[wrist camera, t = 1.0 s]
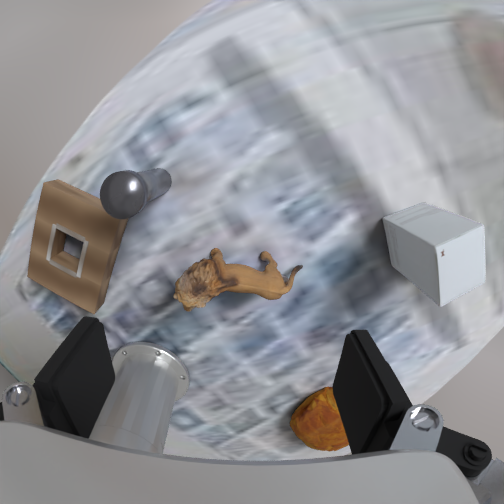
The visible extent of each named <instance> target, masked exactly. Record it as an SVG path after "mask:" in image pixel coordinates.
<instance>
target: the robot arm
mask: <svg viewBox="0 0 504 504" xmlns="http://www.w3.org/2000/svg"><path fill="white" fill-rule="evenodd" d="M34 380H35V383H34V384H33V386H32V385H31V384H29V383H27V382H17V383H14V384H11V385H10V386H8V387H7V389H5V391H4V393H3V395H2V402H1V403H0V504H504V463H503V462H502V461H501V460H499V459H498V458H496V459H495V460H493V459H492V454H491V450H490V448H489V447H488V446H487V445H486V444H485V443H484V442H482V441H480V440H478V439H475V438H472V437H469V436H467V435H464V434H461V433H458V432H456V431H453V430H451V429H448V428H446V427H443V417H442V415H441V414H440V412H439V411H438V410H437V409H435V408H433V407H431V406H429V405H425V404H418V405H414V406H413V405H412V403H411V402H410V400H409V398H408V396H407V394H406V393H405V391H404V389H403V387H402V386H401V384H400V382H399V381H398V379H397V377H396V375H395V374H394V372H393V370H392V368H391V367H390V365H389V364H388V362H386V361H385V359H384V357H383V356H382V354H381V352H380V351H379V349H378V347H377V346H376V344H375V342H374V341H373V339H372V337H371V336H370V334H369V332H368V331H367V330H352V331H351V333H350V334H347V335H346V338H345V342H344V346H343V350H342V354H341V358H340V361H339V365H338V369H337V372H336V376H335V379H334V383H333V395H334V398H335V401H336V404H337V407H338V410H339V414H340V417H341V420H342V423H343V426H344V429H345V433H346V436H347V439H348V442H349V446H350V449H351V452H352V455H345V456H336V457H326V458H315V459H301V460H281V461H237V460H216V459H202V458H191V457H182V456H174V455H166V454H163V450H164V446H165V441H166V437H167V432H168V428H169V423H170V419H171V415H172V410H173V406H174V402H175V401H177V400H179V399H181V398H182V397H183V396H184V395H185V394H186V392H187V390H188V387H189V374H188V370H187V368H186V367H185V365H184V363H183V362H182V361H181V360H180V359H179V358H178V357H177V356H176V355H175V354H174V353H172V352H171V351H169V350H168V349H166V348H164V347H162V346H159V345H156V344H153V343H148V342H132V343H128V344H126V345H124V346H122V347H121V348H120V349H119V350H118V351H117V352H116V354H115V356H114V358H113V361H111V357H110V353H109V349H108V344H107V340H106V336H105V331H104V327H103V324H102V323H101V322H99V320H98V319H97V318H92V317H83V318H82V319H81V320H80V322H79V323H78V324H77V325H76V326H75V328H74V329H73V330H72V331H71V333H70V334H69V335H68V336H67V337H66V339H65V340H64V341H63V342H62V344H61V345H60V346H59V348H58V349H57V350H56V351H55V353H54V354H53V355H52V357H51V358H50V359H49V360H48V362H47V363H46V364H45V366H44V367H43V368H42V370H41V371H40V372H39V374H38V375H37V376H36V378H35V379H34Z"/></svg>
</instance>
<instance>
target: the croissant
mask: <svg viewBox="0 0 504 504" xmlns="http://www.w3.org/2000/svg"><path fill="white" fill-rule="evenodd" d="M290 426H291V428H292V430H293V431H294V432H295V434H296V436H297V437H298V438H299V439H301V440H302V441H303V442H304V443H305V444H306V445H307V446H308V447H310V448H312V449H317V450H322V451H325V450H327V451H333V450H334V451H336V450H339V449H341V448H343V447H346V446H348V445H349V442H348V439H347V436H346V433H345V429H344V426H343V423H342V420H341V417H340V414H339V410H338V407H337V404H336V401H335V398H334V395H333V387H325V388H324V389H322V390H320V391H317V392H315V393H314V394H312V395H311V396H309V397H308V398H307V399H306V400H305V401H304V402H303V403H302V404H301V405H300V406H299V407H298V408H297V409H296V410H295V412H294V413H293V415H292V417H291V421H290Z"/></svg>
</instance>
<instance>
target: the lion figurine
mask: <svg viewBox="0 0 504 504" xmlns="http://www.w3.org/2000/svg"><path fill="white" fill-rule="evenodd" d="M211 256H212V259H202V260H201V261H200V262H196V263H194V264H193V265H192V266H191V267H189V268H188V270H186V271H185V272H184V273H183V275H182V276H181V277H180V278H179V279H178V280H177V282H176V283H175V285H176V288H175V294H174V298H175V299H178V300H179V302H182V303H183V307H184V309H185V310H186V311H191V310H192V309H193V308H194V307H197V308H200V307H205V306H206V303H207V302H209V301H210V300H211V299H212V298H213V297H215V296H218V295H219V294H220V293H222V292H224V291H231V292H238V293H254V294H257V295H260V296H261V297H263V298H265V299H268V300H274V299H279V298H281V296H282V295H283V294H285V293H287V292H289V291H290V289H291V288H292V285H293V280H294V276H295V274H296V273H297V272H298V271H299V270H300V269H301V268H302V267H303V265H298V266H296V267H295V268H294V269H293V271H292V273H291V275H290V278H289V279H288V278H287V277H286V276H282V275H281V274H280V272H279V271H278V270H277V268H276V267H277V263H276V262H275V261H274V260H273V258H272V256H271V255H270V254H269V253H268V252H266V251H264V252H262V253H261V256H260V257H261V259H262V260H263V261H267V262H268V263H269V264H268V265H267V266H266V267H265V270H264V271H263V272H261V271H258V270H255V269H253V268H251V267H249V266H246V265H241V264H226V263H225V262H224V260H223V255H222V253H221V251H220V250H219V249H218V248H214V249H213V250H212V251H211Z"/></svg>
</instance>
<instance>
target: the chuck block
mask: <svg viewBox="0 0 504 504" xmlns="http://www.w3.org/2000/svg"><path fill="white" fill-rule="evenodd" d="M128 219H129V218H128ZM128 219H116V218H113V217H112V216H110V215H109V214H108V213H107V212H106V211H105V210H104V208H103V206H102V204H101V200H100V199H99V198H97V197H95V196H93V195H91V194H88V193H86V192H84V191H82V190H80V189H78V188H75V187H73V186H71V185H69V184H67V183H65V182H62V181H60V180H53V181H49V182H45V183H44V184H43V188H42V192H41V196H40V201H39V205H38V210H37V215H36V220H35V225H34V231H33V237H32V244H31V251H30V258H29V267H28V276H27V277H29V278H31V279H32V280H34V281H35V282H37V283H39V284H40V285H42V286H44V287H46V288H47V289H49V290H51V291H52V292H54V293H56V294H58V295H59V296H61V297H63V298H65V299H66V300H68V301H70V302H72V303H74V304H76V305H77V306H79V307H81V308H83V309H85V310H87V311H89V312H91V313H93V314H95V313H96V312H97V310H98V309H99V308H100V307H101V306H102V304H103V303H104V301H105V297H106V293H107V289H108V285H109V281H110V278H111V274H112V270H113V267H114V263H115V260H116V256H117V253H118V250H119V247H120V243H121V240H122V237H123V234H124V231H125V228H126V225H127V222H128ZM67 234H68V235H70V236H72V237H74V238H76V239H78V240H80V241H82V242H84V244H83V248H82V252H81V256H80V259H78V258H76V257H74V256H72V255H70V254H68V253H66V252H65V251H63V249H64V244H65V239H66V235H67Z"/></svg>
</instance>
